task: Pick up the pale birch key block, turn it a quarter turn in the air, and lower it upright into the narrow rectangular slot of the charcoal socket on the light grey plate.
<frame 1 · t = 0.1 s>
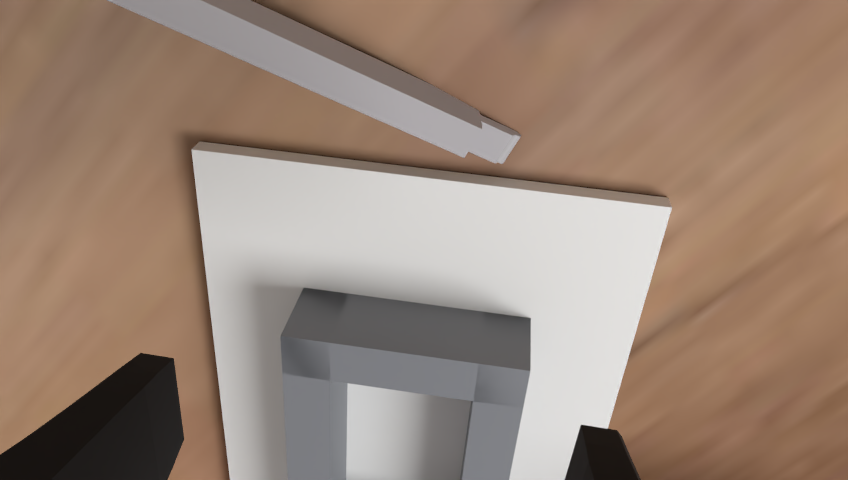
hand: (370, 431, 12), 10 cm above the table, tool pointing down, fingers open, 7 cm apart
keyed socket: (408, 411, 26), on the table
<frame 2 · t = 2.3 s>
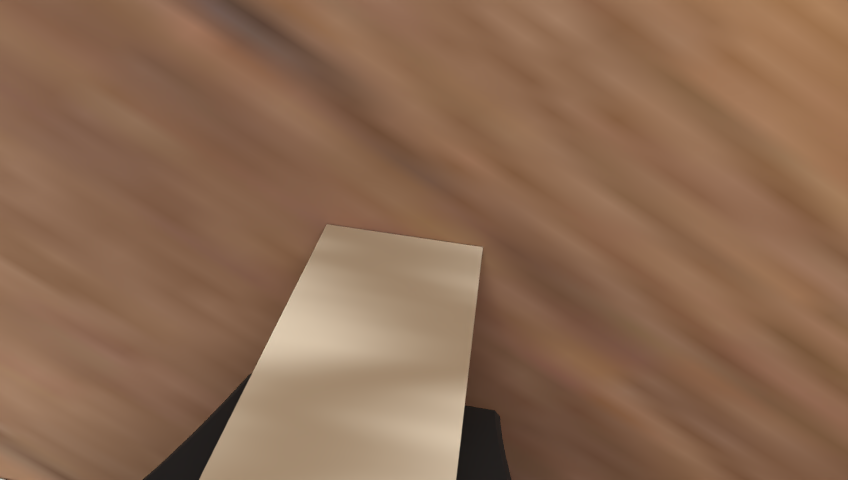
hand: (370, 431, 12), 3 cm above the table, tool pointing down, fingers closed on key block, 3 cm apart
key block: (395, 337, 15), on the table, touching gripper
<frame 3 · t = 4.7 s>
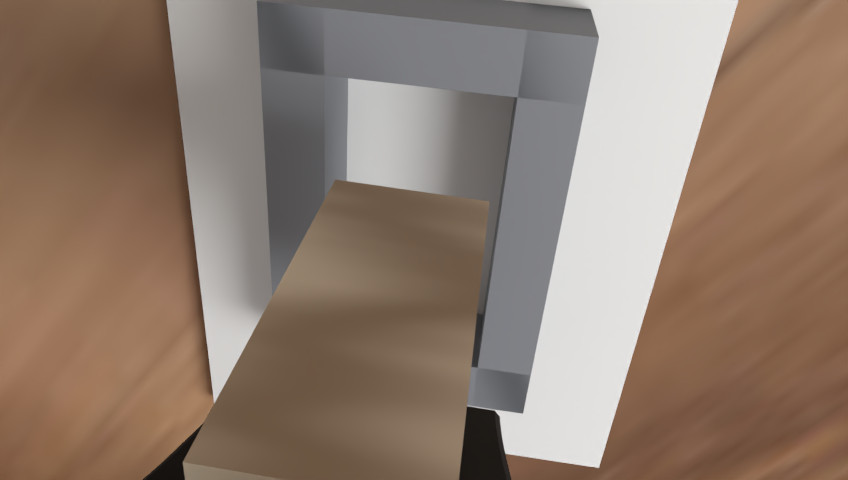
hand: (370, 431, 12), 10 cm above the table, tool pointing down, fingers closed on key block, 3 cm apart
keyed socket: (425, 183, 21), on the table
key block: (402, 295, 15), point 6 cm above the table, touching gripper
when the fingers open (4 cm above the table, at t = 6.9 s): key block stays where it is, resting on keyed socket.
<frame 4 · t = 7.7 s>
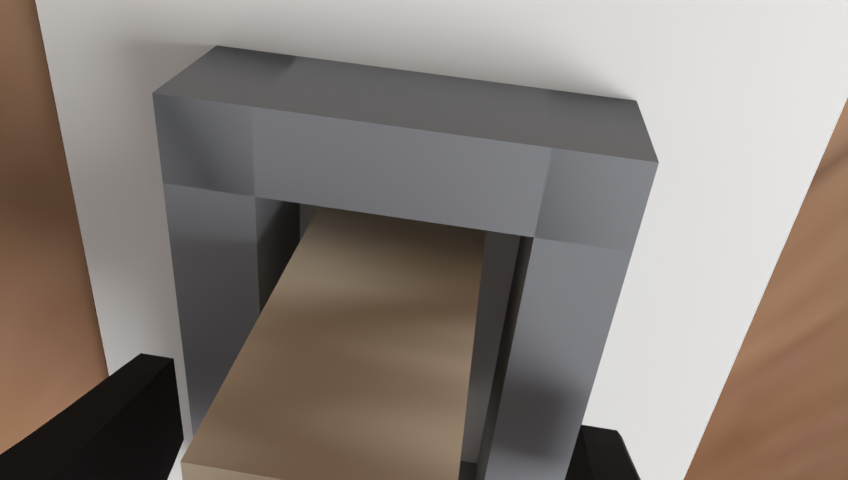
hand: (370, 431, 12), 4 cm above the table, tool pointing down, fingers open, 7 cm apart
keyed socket: (404, 303, 16), on the table
key block: (401, 293, 15), point 1 cm above the table, touching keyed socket
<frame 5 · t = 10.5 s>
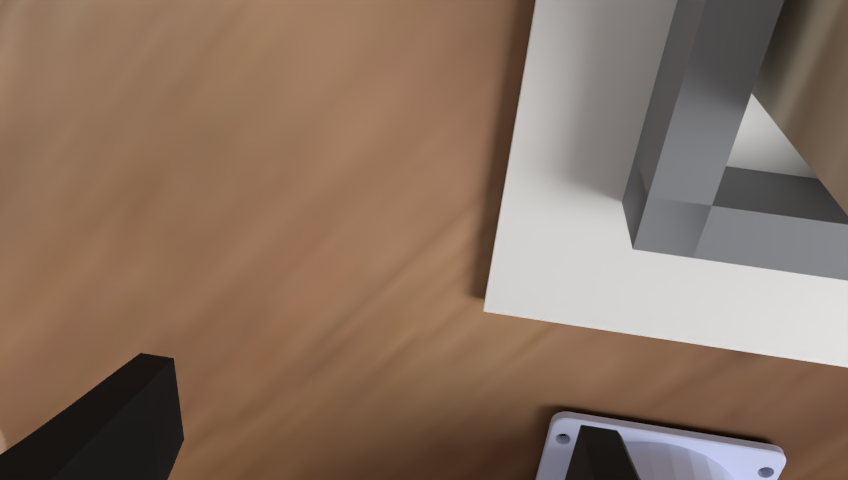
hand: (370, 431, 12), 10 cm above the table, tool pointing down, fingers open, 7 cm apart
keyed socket: (826, 14, 17), on the table
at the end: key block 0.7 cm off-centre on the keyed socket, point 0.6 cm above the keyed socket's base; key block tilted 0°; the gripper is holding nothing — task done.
